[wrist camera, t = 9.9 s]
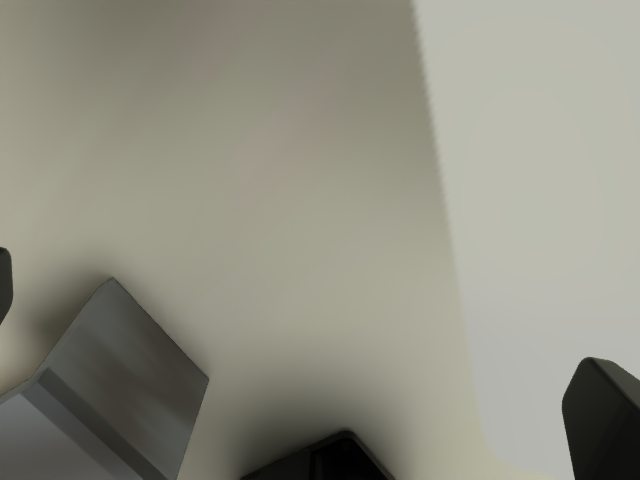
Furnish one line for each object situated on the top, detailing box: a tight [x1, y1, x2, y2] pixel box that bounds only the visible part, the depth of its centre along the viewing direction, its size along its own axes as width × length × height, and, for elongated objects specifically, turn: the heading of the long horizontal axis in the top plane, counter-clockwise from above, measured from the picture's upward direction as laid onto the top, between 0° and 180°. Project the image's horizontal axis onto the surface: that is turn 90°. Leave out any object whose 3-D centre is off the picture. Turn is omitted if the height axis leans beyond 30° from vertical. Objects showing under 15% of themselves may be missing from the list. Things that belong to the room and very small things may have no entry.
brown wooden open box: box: [0, 278, 209, 480], centre depth 24 cm, size 9×12×6 cm
